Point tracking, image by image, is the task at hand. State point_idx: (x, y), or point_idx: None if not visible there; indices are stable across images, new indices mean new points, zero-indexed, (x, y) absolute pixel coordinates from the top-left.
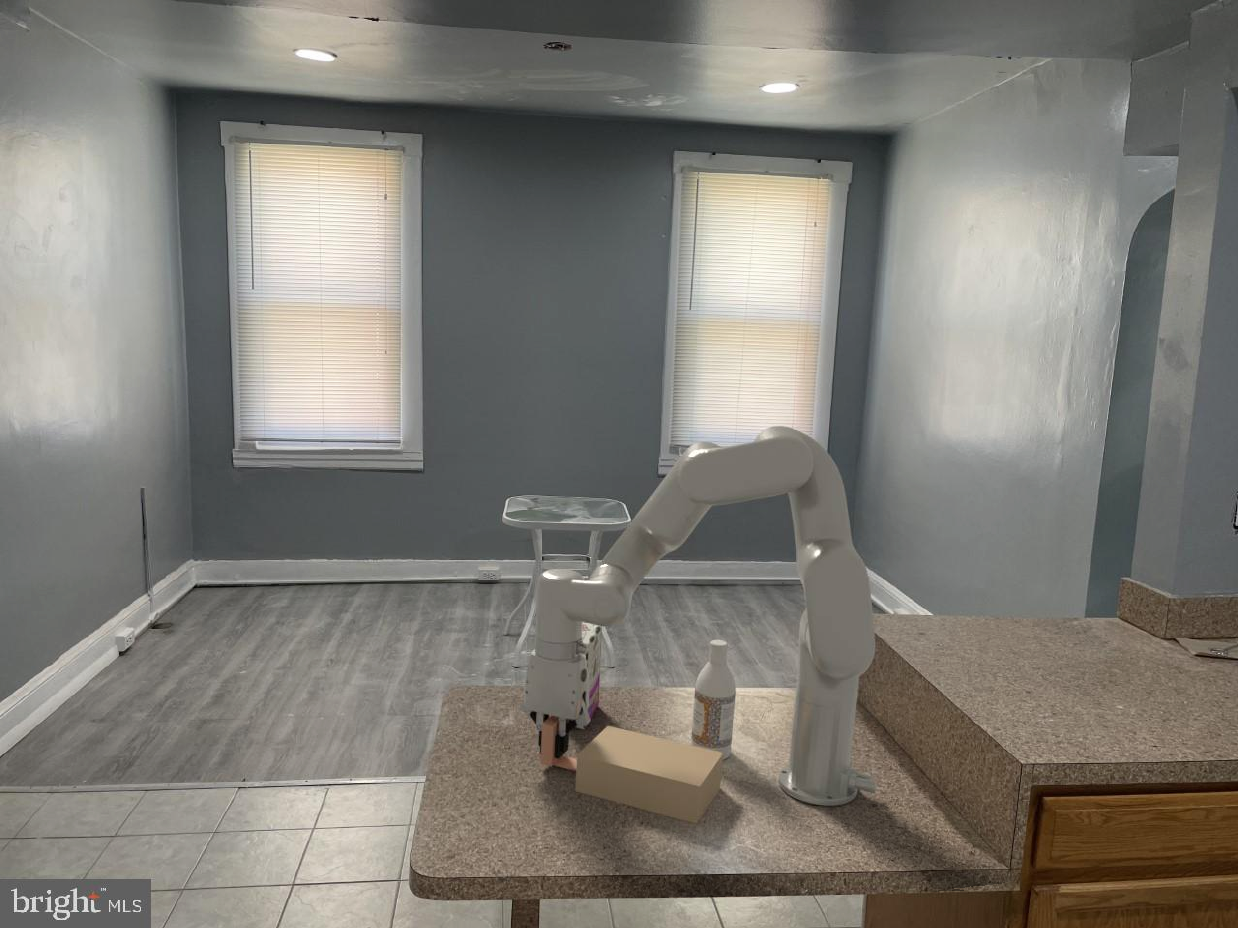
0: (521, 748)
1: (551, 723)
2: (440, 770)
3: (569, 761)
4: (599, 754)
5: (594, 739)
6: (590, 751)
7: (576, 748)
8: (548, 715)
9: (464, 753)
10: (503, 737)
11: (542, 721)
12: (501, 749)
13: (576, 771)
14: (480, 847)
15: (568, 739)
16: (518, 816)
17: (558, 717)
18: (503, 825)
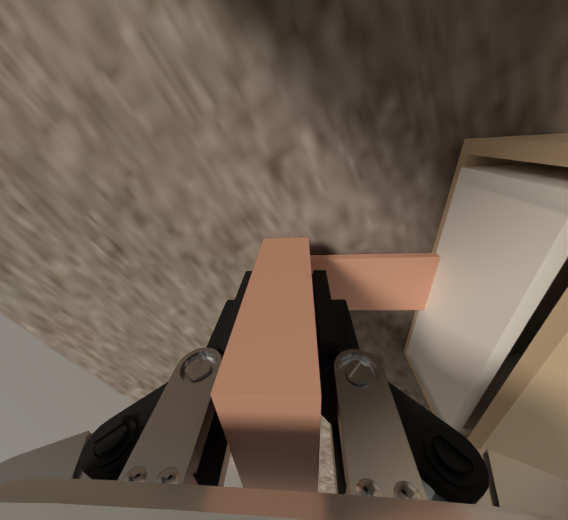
0: (146, 232)
1: (291, 488)
2: (111, 384)
3: (350, 282)
4: (565, 456)
5: (538, 378)
6: (517, 448)
7: (307, 114)
8: (203, 432)
9: (72, 322)
10: (38, 194)
11: (225, 466)
12: (111, 266)
13: (429, 405)
14: (318, 477)
15: (353, 330)
16: (329, 432)
17: (287, 443)
18: (319, 449)
